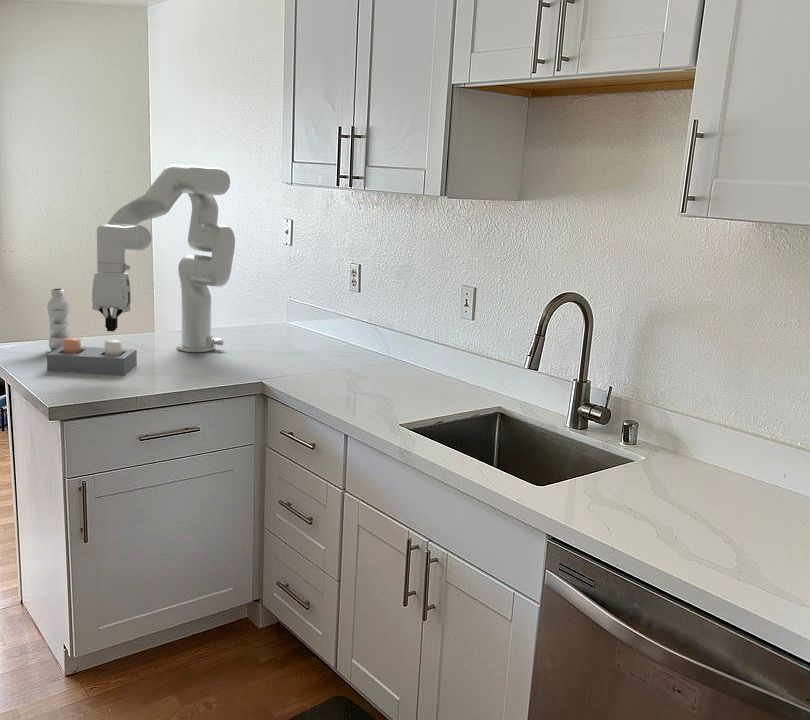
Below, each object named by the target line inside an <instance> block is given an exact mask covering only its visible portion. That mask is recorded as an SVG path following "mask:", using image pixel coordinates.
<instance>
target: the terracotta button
mask: <svg viewBox="0 0 810 720" xmlns="http://www.w3.org/2000/svg"><path fill="white" fill-rule="evenodd" d="M81 342H82V341H81V338H79V337H70V338H65V339H63V353H74V354H79V353H81V347H82V346H81V345H82V344H81Z"/></svg>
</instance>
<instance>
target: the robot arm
mask: <svg viewBox="0 0 810 720" xmlns="http://www.w3.org/2000/svg"><path fill="white" fill-rule="evenodd" d="M230 186H231V178H230V175H229V174H228V172H227V171H226V170H225V169H223V168H221V167H207V166H199V165H198V166H197V165H186V164H185V165H184V164H170V165H167V166H166V167H165V168H164V169H163V170H162V171H161V172H160V174H159V175H158V177H156V178H155V180H154V181H153V183H152V184H151V185H150V187H149V188H148V189H147V190H146V192H145V193H144V194H143V195H141V196H139V197H137V198H135V199H133V200H132V201H130V202H128V203H126V204H125V205H123V206H122V207H120V208H119V209H118V210H117V211H116V212H115V213H114V214H113V216H111V218H110V219H109V220H108V222H107V223H106V224H100V225H98V227H97V229H96V262H97V263H96V271H95V272H94V276H93V281H92V282H93V283H92V290H91V302H92V303H91V304H92V307H91V309H92V310H94V311H97V312H99V313H101V315H102V316H103V317H104V318H105V322H104V323H105V324H104V325H105V326H104V327H105V328H106V332H112V333H113V332H115V331H117V329H118V317H119V316H120V315H122V314H123V313H128V312H130V311H131V309H132V308H131V304H132V293H131V284H130V277H129V274H128V273H129V272H128V273H127V271H130V270H131V269H130V268H131V265H130V264H129V265H128V264H127V263H126V255H125V254H126V250H128V251H137V252H138V251H142V250H145V249H147V248H148V247H149V246H150V245H151V242H152V234H151V232H150V231H149V229H147V227H145V226H143V225H140V223H142V222H145V221H148V220H152V219H156V218H159V217H163V216H164V215H166V214H168V213H169V212H170V210H171V209H172V208H173V206H174V205H175V203H176V202H177V201H178V199H179V198H180V197H181V196H182V195H183V194H187V195H188V197H189V200H190V202H191V215H190V222H189V229H188V234H187V235H188V237H187V243H188V246H189V248H191V249H192V250H194V251H198V252H202V253H204V252H205V253H211V256H208V255H200V254H189V255H185V256H184V257H182V258H181V260H180V261H179V263H178V266H177V267H178V268H177V269H178V271H177V272H178V277H179V282H180V288H181V342H179V343H177V344H176V348H177V350H179V351H182V352H187V353H207V352H211V351H214V350H216V345H217V346H224V344H225V343H224V341H225V340H224V339H222V338H215V337H214V334H213V333H212V296H211V291H210V289H209V287H216V288H217V287H218V288H219V287H224V286H225V285H226V284H227V283H228V281H229V280H230V277H231V272H232V267H233V260H234V254H235V249H236V247H235V245H236V236H235V234H234V231H233V229H232V228H231V227H229V226H228V225H227V224H226V225H225V224H219V223H218V220H219V219H218V217H219V205H218V203H217V201H216V198H215V196H222V195H225V194H226V193H228V190H229V189H230ZM111 308H112V313H111Z"/></svg>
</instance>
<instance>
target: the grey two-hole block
mask: <svg viewBox="0 0 810 720" xmlns="http://www.w3.org/2000/svg"><path fill="white" fill-rule="evenodd" d="M137 355H138V353H137V349H133V348H132V349H131V348H122V355H121V356H113V355H105V347H91V346H81V353H79V354H74V353H63V346H61V347H60V348H58V349H56V350H54V351H52V350H51V352H48V353H46V367H47V369H46V370H47V371H46V372H49V371H55V372H54V373H69V372H73V374H88V373H93V375H94V374H95V375H109V376H110V374H111V376H112V375H113V376H126V375H127V374H128V373H130V371H132V370H133V369H134V368H136V367H137V366H138V365H137V364H138V363H137V362H138V359H137V357H138V356H137ZM135 366H136V367H135Z"/></svg>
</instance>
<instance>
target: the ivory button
mask: <svg viewBox="0 0 810 720" xmlns="http://www.w3.org/2000/svg"><path fill="white" fill-rule="evenodd" d="M103 344H104V348H105V355H113V356H121V355H122V349H123V341H122V340H121V339H108V340H104V343H103Z"/></svg>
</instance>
